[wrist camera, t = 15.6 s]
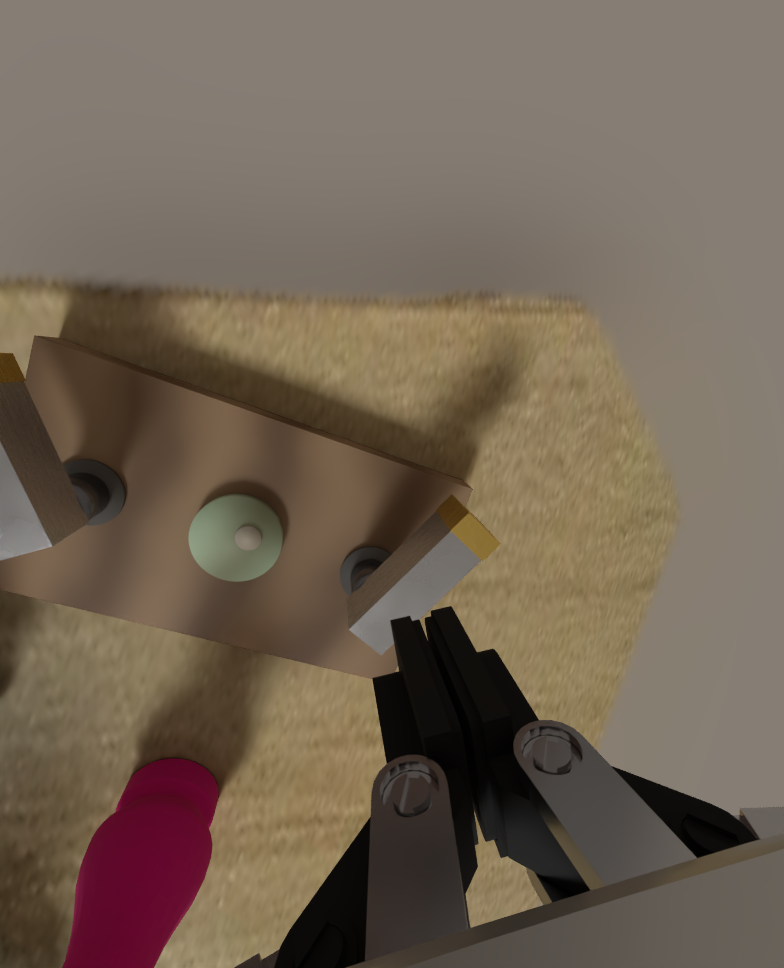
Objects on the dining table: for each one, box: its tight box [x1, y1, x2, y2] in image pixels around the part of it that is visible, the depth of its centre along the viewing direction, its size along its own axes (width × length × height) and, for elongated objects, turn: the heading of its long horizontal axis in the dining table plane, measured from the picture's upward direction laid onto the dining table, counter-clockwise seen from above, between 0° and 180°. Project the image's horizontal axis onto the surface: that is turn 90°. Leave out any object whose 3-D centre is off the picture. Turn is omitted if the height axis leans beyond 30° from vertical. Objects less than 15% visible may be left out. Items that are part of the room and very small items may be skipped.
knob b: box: [347, 494, 500, 655], centre depth 24 cm, size 8×2×6 cm, turn 135°
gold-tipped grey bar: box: [0, 353, 110, 560], centre depth 20 cm, size 8×2×6 cm, turn 14°
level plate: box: [0, 336, 473, 679], centre depth 26 cm, size 24×14×3 cm, turn 69°
